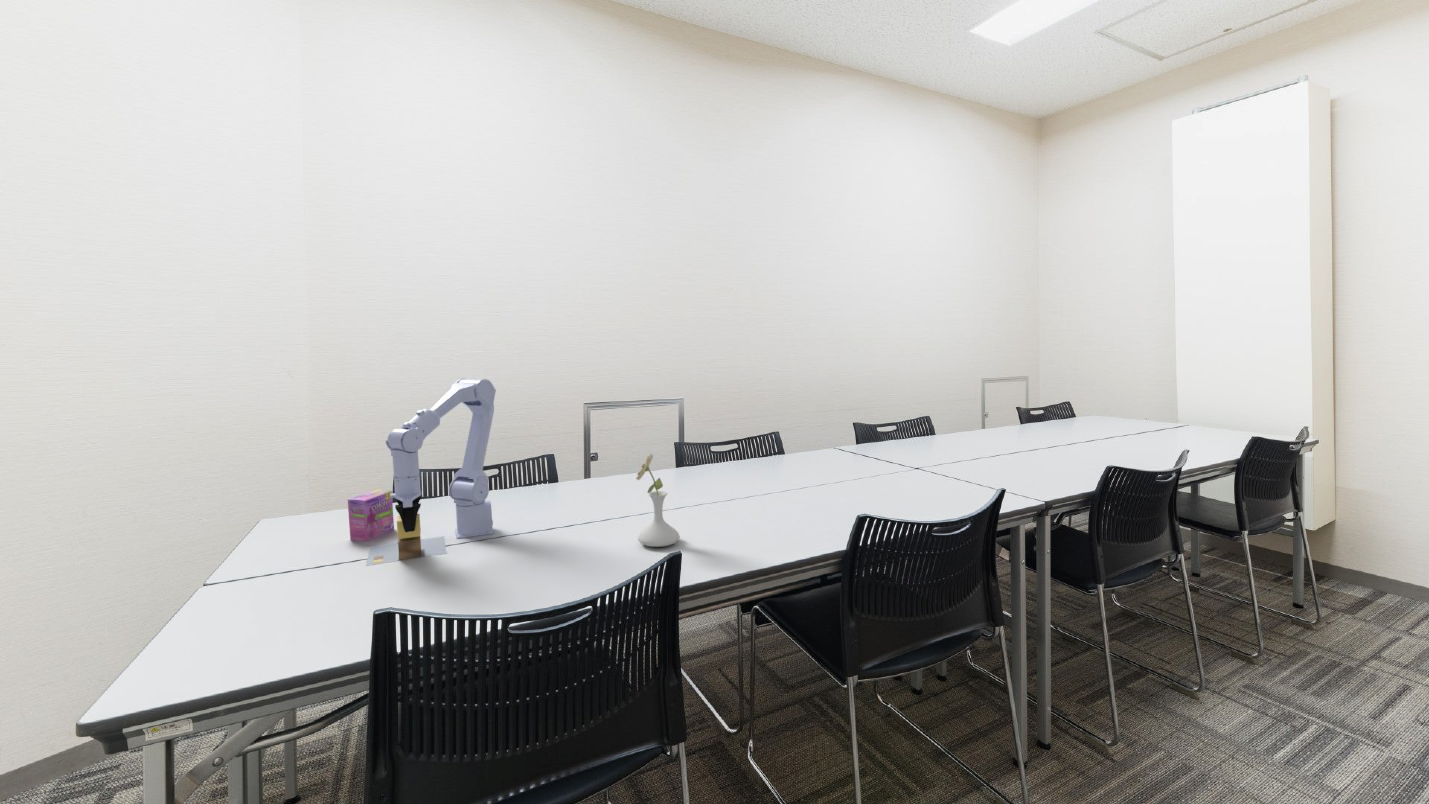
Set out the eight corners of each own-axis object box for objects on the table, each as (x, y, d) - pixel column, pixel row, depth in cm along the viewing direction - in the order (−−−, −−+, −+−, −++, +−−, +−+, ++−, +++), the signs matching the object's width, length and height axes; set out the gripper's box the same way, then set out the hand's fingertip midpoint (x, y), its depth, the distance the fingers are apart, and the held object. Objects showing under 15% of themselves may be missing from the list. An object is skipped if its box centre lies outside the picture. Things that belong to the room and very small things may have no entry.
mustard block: (399, 533, 152) (397, 516, 151) (420, 530, 154) (419, 513, 154) (397, 539, 147) (396, 521, 147) (420, 536, 150) (419, 518, 149)
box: (367, 542, 162) (364, 500, 161) (349, 540, 163) (346, 499, 162) (395, 530, 172) (392, 490, 171) (378, 528, 173) (375, 489, 172)
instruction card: (444, 536, 166) (444, 535, 166) (446, 554, 152) (446, 553, 152) (370, 547, 158) (370, 546, 158) (365, 566, 144) (365, 565, 144)
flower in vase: (653, 533, 167) (652, 446, 165) (687, 540, 162) (686, 450, 159) (624, 548, 156) (622, 455, 153) (660, 555, 150) (658, 459, 148)
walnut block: (421, 550, 155) (420, 533, 154) (421, 556, 150) (420, 539, 150) (399, 553, 152) (398, 536, 152) (399, 559, 148) (397, 542, 147)
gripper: (389, 471, 154) (393, 522, 155) (387, 483, 141) (391, 539, 142) (420, 468, 157) (423, 518, 158) (420, 480, 144) (423, 534, 146)
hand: (410, 528), depth 151 cm, fingers closed on mustard block, 5 cm apart
